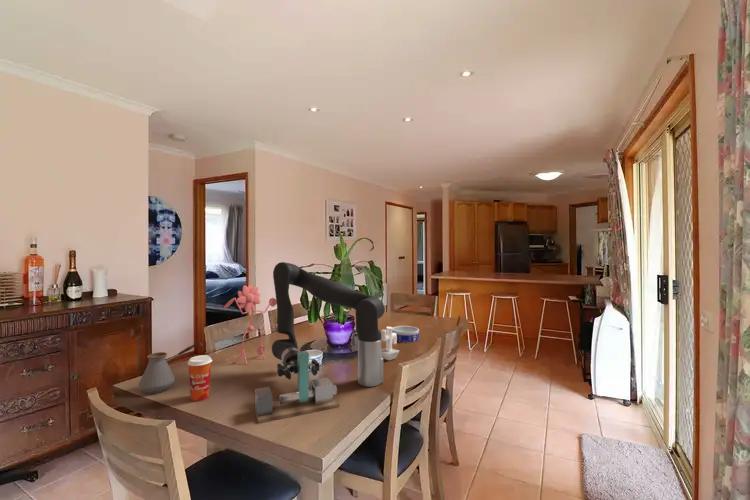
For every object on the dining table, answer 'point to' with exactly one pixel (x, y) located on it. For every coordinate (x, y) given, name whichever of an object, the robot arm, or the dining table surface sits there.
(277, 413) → the walnut board
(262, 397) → the sleeve and socket
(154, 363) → the coffee pot
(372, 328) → the robot arm
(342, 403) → the dining table surface
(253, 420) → the dining table surface
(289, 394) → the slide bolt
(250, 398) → the dining table surface
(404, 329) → the dog bowl
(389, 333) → the figurine
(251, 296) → the figurine
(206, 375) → the paper cup
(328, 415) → the dining table surface
